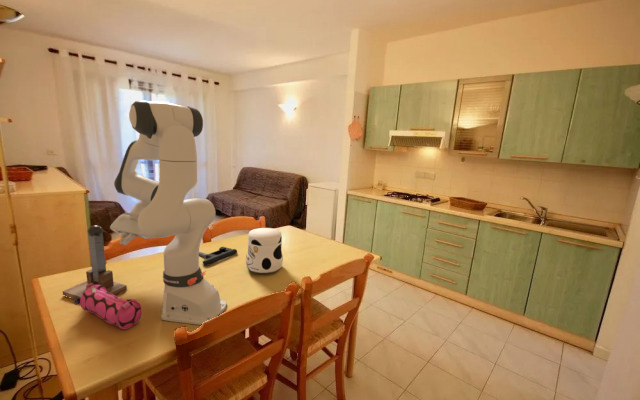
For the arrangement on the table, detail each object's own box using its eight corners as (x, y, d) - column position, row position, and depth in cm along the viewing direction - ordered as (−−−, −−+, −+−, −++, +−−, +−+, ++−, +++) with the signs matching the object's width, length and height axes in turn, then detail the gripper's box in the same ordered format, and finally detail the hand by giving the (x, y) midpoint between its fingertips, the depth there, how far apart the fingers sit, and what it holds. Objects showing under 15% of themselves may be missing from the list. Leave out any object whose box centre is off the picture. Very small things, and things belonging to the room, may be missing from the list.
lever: (110, 278, 111) (105, 224, 107) (98, 283, 107) (92, 228, 102) (101, 276, 112) (96, 223, 108) (89, 281, 108) (83, 226, 104)
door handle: (186, 254, 143) (207, 261, 135) (219, 243, 160) (239, 249, 151) (186, 261, 143) (208, 268, 135) (219, 249, 160) (239, 255, 152)
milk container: (237, 270, 134) (238, 233, 130) (261, 258, 149) (262, 225, 145) (267, 280, 126) (268, 242, 123) (289, 266, 141) (291, 231, 138)
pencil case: (75, 316, 95) (71, 289, 93) (106, 302, 104) (103, 277, 102) (117, 337, 87) (114, 307, 85) (147, 319, 96) (145, 292, 94)
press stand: (126, 289, 112) (125, 271, 110) (95, 306, 101) (92, 285, 99) (96, 281, 117) (94, 263, 115) (63, 296, 105) (60, 276, 104)
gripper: (118, 208, 124) (97, 236, 117) (155, 214, 118) (136, 244, 111) (128, 215, 129) (109, 243, 122) (165, 222, 123) (146, 251, 116)
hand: (122, 244), depth 117 cm, fingers closed
